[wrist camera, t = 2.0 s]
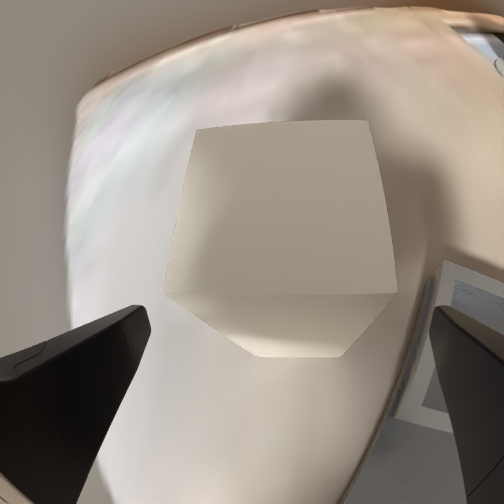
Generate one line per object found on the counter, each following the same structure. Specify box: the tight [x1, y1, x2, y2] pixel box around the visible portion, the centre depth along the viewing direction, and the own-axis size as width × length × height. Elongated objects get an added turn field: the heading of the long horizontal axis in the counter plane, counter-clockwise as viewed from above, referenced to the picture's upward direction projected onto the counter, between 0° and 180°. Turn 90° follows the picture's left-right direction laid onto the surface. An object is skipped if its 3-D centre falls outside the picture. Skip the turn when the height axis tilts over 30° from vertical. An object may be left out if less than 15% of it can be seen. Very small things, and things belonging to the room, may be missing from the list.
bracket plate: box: [339, 259, 504, 504], centre depth 13 cm, size 17×12×2 cm
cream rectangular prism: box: [163, 120, 398, 358], centre depth 13 cm, size 5×5×13 cm
